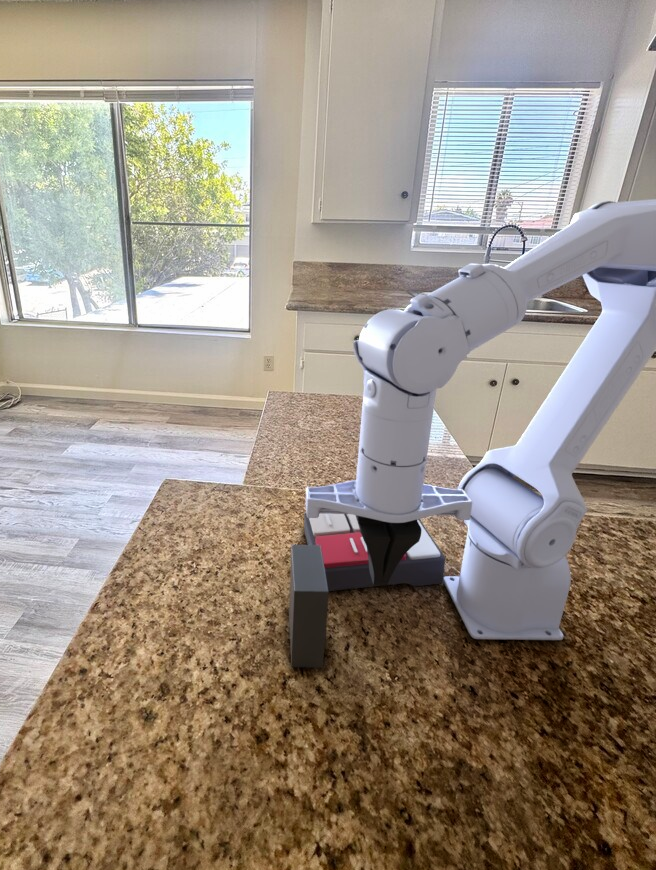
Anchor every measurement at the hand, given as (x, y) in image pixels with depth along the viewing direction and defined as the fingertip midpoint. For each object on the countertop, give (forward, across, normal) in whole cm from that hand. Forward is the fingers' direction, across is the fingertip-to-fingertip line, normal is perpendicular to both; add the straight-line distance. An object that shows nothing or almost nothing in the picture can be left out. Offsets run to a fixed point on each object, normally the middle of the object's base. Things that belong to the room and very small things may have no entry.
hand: (378, 577), depth 40 cm
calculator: (+8, -2, -12) cm, 15 cm away
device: (+8, +7, 0) cm, 10 cm away
